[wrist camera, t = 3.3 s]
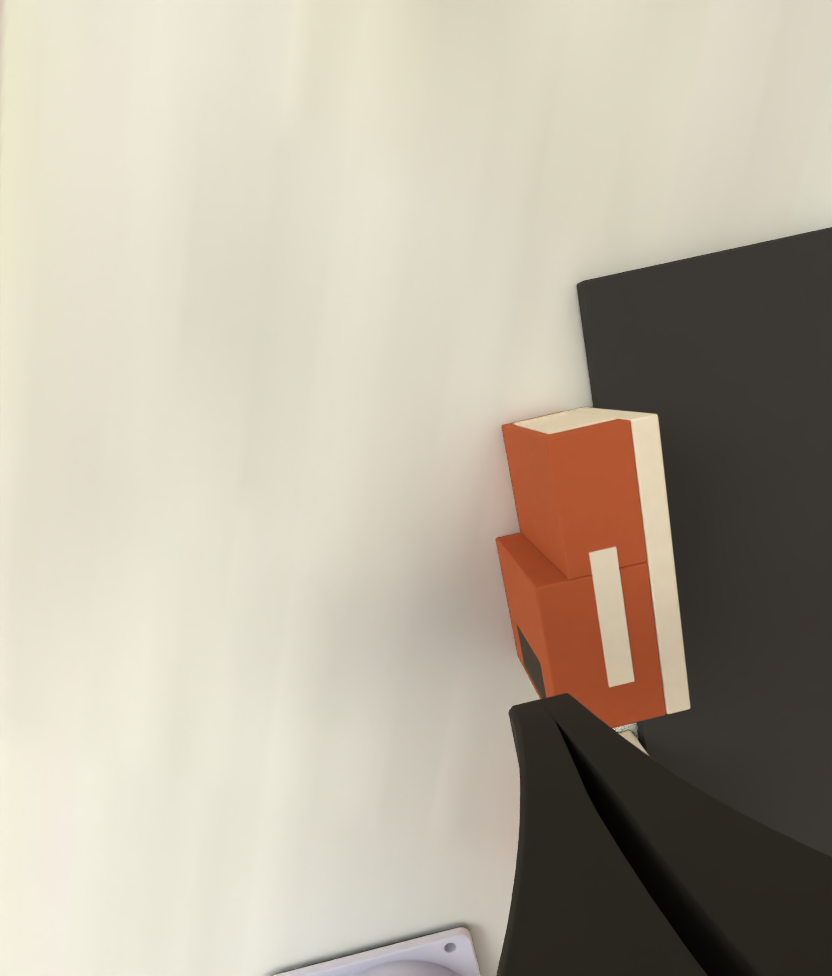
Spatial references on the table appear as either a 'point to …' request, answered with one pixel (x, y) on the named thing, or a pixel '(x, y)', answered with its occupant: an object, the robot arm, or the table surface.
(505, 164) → the table surface
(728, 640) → the shoe mat
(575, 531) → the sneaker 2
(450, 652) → the table surface
